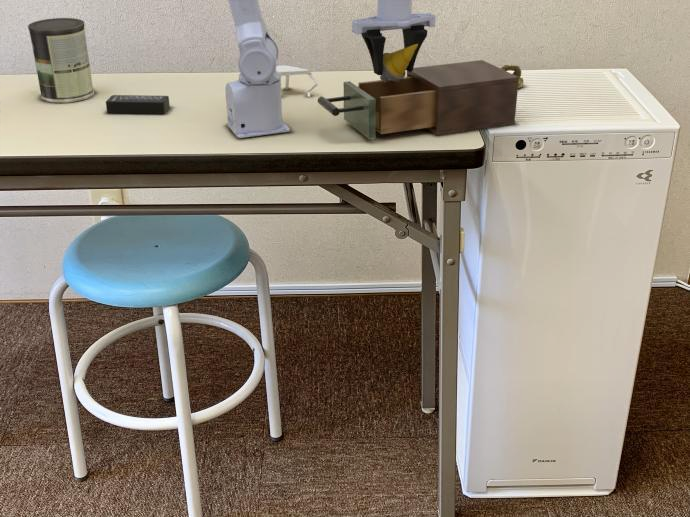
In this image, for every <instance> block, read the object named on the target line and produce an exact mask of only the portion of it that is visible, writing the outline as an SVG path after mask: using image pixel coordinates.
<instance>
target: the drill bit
mask: <svg viewBox="0 0 690 517" xmlns="http://www.w3.org/2000/svg"><path fill="white" fill-rule="evenodd" d="M417 46H418V44H415V45H412V46H409V47H406V48H404V47H403V48H401V49H398V50H395V51H393V52H383V73H382V75H379V80H382V81H383V82H384V83H385V82H386V81H388V80H389V79H390V80H392V81H394V82H399V81H401V80H402V79H403V78H404V77H406V75H407V70H406V69H407V67H408V64H409V62H410V60H411V58H412V56H413V54H414V50H416V48H417Z"/></svg>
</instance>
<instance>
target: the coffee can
mask: <svg viewBox="0 0 690 517" xmlns="http://www.w3.org/2000/svg"><path fill="white" fill-rule="evenodd" d="M85 25H86V24H85V21H84V20H82V19H79V18H74V17H73V18H72V17H56V18H55V17H53V18H46V19H45V18H44V19H40V20H37V21H33V22H31V23H29V24H28V25H27V29H28V32H29V36H30V42H31V47H32V54H33V58H34V64H35V69H36V75H37V79H38V86H39V90H40V98H41V99H42V100H43V101H44V102H48V103H55V104H66V103H68V104H69V103H75V102H80V101H84V100H87V99H89V98H91V97H92V96H94V94H95V90H94V84H93V77H92V71H91V64H90V57H89V52H88V44H87V38H86V31H85Z"/></svg>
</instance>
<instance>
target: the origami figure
mask: <svg viewBox="0 0 690 517" xmlns="http://www.w3.org/2000/svg"><path fill="white" fill-rule="evenodd" d="M276 71H277V72H278V73H279V74H280V75H281V77H282V76H285V90H289V89H290V88H289V86H290V76H296V75H297V76H298V75H308V76H309V78H310V79H311V80H312V82H313V84H314V85H312V86H311V87H310V88H309V89H308V90H307V91H306V93H307V97H308V98H310V97H311V91H313V90H314V89H316V88H317V87H318V85H319V83H318V82H317V80H316V78H315V76H314V75H313V74H312V72H311V71H310V70H309V69H305V68H302V67H299V66H298V67H297V66H291V65H276ZM282 94H284V93H283V91H282V90H281V95H282Z"/></svg>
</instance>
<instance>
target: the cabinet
mask: <svg viewBox="0 0 690 517" xmlns="http://www.w3.org/2000/svg"><path fill="white" fill-rule="evenodd" d="M410 76H413V77H415V78H416V79H418V80H420V81H422V82H423V83H425V84H427V85H429V86H430V87H432V88H434V89H436V90H437V100H436V121H435V127H429V128H425V129H426V130H428V131H429V132H430V133H432V134H434V136H437V137H438V136H444V135H451V134H457V133H465V132H472V131H479V130H485V129H492V128H493V129H494V128H500V127H507V126H514V125H516V114H517V113H516V112H517V101H518V93H519V92H518V91H519V88H518V81H519V77H517V76H515V75H513V73H511V72H509V71H508V70H507V71H505V70H502V69H501V68H500V67H498V66H496V65H494V64H492V63H489V62H487V61H485V60H483V59H482V60H481V59H479V60H471V61H463V62H461V61H460V62H453V63H445V64H435V65H426V66H418V67H413V71H412V72H409V71H407V70H406V77H410Z"/></svg>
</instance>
